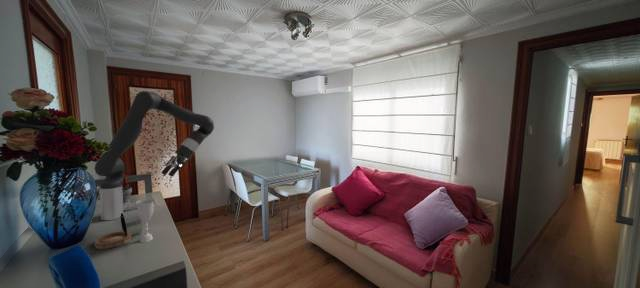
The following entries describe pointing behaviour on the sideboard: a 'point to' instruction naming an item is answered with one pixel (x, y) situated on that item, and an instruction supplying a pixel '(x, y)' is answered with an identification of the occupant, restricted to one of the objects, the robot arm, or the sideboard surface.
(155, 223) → the sideboard surface
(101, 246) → the tan segmented-rim dish
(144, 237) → the chalice
